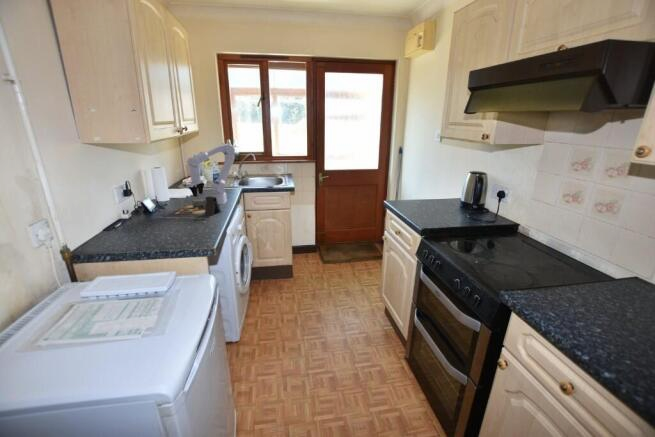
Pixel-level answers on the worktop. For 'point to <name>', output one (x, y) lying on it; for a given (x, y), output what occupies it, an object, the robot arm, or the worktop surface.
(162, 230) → the worktop surface
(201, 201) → the bar
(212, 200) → the phone stand
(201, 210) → the board
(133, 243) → the worktop surface
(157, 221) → the worktop surface
